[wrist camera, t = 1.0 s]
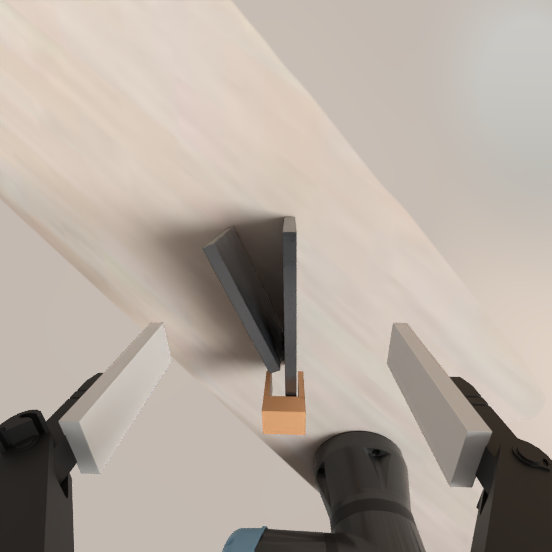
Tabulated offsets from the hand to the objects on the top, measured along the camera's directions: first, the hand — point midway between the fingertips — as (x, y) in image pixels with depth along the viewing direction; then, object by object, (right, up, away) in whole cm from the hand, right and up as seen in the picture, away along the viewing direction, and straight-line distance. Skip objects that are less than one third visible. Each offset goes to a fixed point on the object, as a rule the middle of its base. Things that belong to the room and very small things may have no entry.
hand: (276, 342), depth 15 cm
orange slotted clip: (+1, -9, +18) cm, 20 cm away
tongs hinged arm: (-3, +3, +19) cm, 19 cm away
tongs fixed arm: (+1, +1, +20) cm, 20 cm away
